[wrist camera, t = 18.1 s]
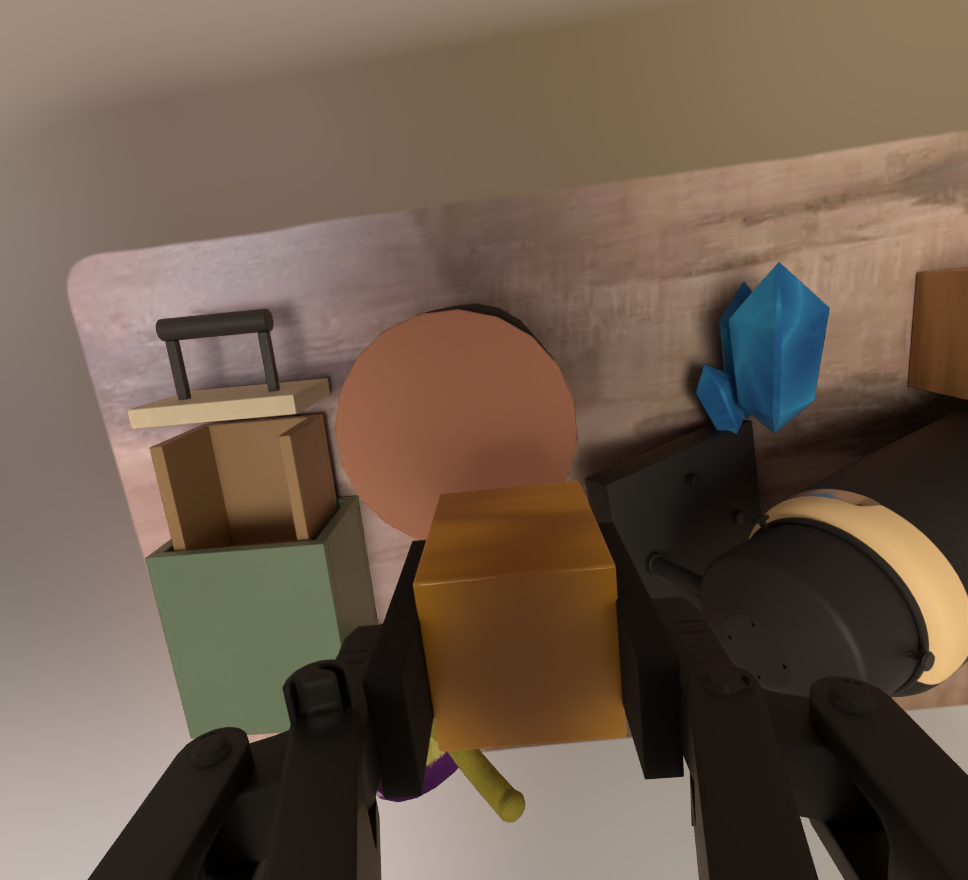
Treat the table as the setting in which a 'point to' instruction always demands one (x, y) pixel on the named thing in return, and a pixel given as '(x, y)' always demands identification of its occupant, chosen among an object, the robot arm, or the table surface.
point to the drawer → (239, 449)
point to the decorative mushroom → (469, 778)
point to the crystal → (766, 354)
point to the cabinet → (259, 619)
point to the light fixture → (808, 555)
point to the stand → (940, 333)
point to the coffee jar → (452, 413)
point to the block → (519, 619)
